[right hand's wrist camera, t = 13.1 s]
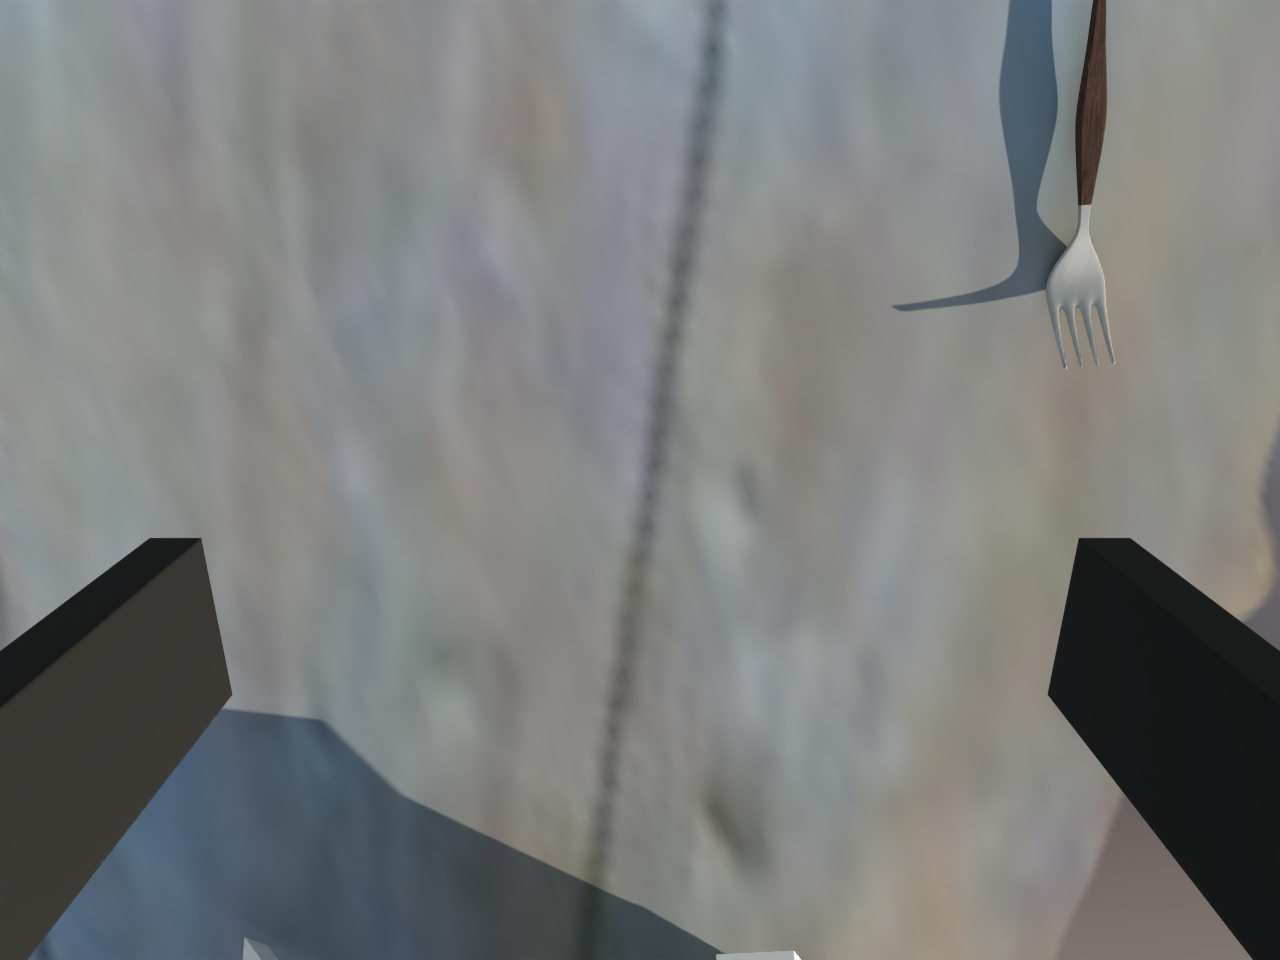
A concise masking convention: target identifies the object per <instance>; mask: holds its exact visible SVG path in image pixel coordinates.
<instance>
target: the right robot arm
mask: <svg viewBox="0 0 1280 960" xmlns="http://www.w3.org/2000/svg"><path fill="white" fill-rule="evenodd" d="M231 696H232V690H231V685H230V680H229V675H228V670H227V665H226V660H225V655H224V650H223V645H222V640H221V635H220V630H219V625H218V620H217V615H216V610H215V605H214V600H213V595H212V590H211V585H210V580H209V575H208V570H207V565H206V560H205V555H204V550H203V545H202V540H201V538H149V539H148V540H147V541H145V542H144V543H143V544H141V545H140V546H139V547H138V548H136V549H135V550H134V551H132V552H131V553H130V554H128V555H127V556H126V557H124V558H123V559H122V560H120V561H119V562H118V563H116V564H115V565H114V566H112V567H111V568H110V569H108V570H107V571H106V572H104V573H103V574H102V575H100V576H99V577H98V578H96V579H95V580H94V581H92V582H91V583H90V584H89V585H87V586H86V587H85V588H83V589H82V590H81V591H79V592H78V593H77V594H75V595H74V596H73V597H71V598H70V599H69V600H67V601H66V602H65V603H63V604H62V605H61V606H59V607H58V608H57V609H55V610H54V611H53V612H51V613H50V614H49V615H47V616H46V617H45V618H44V619H42V620H41V621H40V622H38V623H37V624H36V625H34V626H33V627H32V628H30V629H29V630H28V631H26V632H25V633H24V634H22V635H21V636H20V637H18V638H17V639H16V640H14V641H13V642H12V643H10V644H9V645H8V646H6V647H5V648H4V649H2V650H1V651H0V960H27V959H28V958H29V957H30V955H31V954H32V953H33V951H34V950H35V949H36V947H37V946H38V945H39V944H40V942H41V941H42V940H43V938H44V937H45V936H46V935H47V933H48V932H49V931H50V929H51V928H52V927H53V926H54V924H55V923H56V922H57V920H58V919H59V918H60V916H61V915H62V914H63V913H64V911H65V910H66V909H67V907H68V906H69V905H70V904H71V902H72V901H73V900H74V898H75V897H76V896H77V895H78V893H79V892H80V891H81V889H82V888H83V887H84V885H85V884H86V883H87V882H88V880H89V879H90V878H91V876H92V875H93V874H94V873H95V871H96V870H97V869H98V867H99V866H100V865H101V864H102V862H103V861H104V860H105V858H106V857H107V856H108V854H109V853H110V852H111V851H112V849H113V848H114V847H115V845H116V844H117V843H118V842H119V840H120V839H121V838H122V836H123V835H124V834H125V833H126V831H127V830H128V829H129V827H130V826H131V825H132V823H133V822H134V821H135V820H136V818H137V817H138V816H139V814H140V813H141V812H142V811H143V809H144V808H145V807H146V805H147V804H148V803H149V802H150V800H151V799H152V798H153V796H154V795H155V794H156V792H157V791H158V790H159V789H160V787H161V786H162V785H163V783H164V782H165V781H166V780H167V778H168V777H169V776H170V774H171V773H172V772H173V771H174V769H175V768H176V767H177V765H178V764H179V763H180V761H181V760H182V759H183V758H184V756H185V755H186V754H187V752H188V751H189V750H190V749H191V747H192V746H193V745H194V743H195V742H196V741H197V740H198V738H199V737H200V736H201V734H202V733H203V732H204V730H205V729H206V728H207V727H208V725H209V724H210V723H211V721H212V720H213V719H214V718H215V716H216V715H217V714H218V712H219V711H220V710H221V709H222V707H223V706H224V705H225V703H226V702H227V701H228V700H229V698H230V697H231ZM1048 696H1049V697H1050V698H1051V700H1052V701H1053V702H1054V703H1055V705H1056V706H1057V707H1058V709H1059V710H1060V711H1061V712H1062V714H1063V715H1064V716H1065V718H1066V719H1067V720H1068V721H1069V723H1070V724H1071V725H1072V727H1073V728H1074V729H1075V730H1076V732H1077V733H1078V734H1079V736H1080V737H1081V738H1082V740H1083V741H1084V742H1085V743H1086V745H1087V746H1088V747H1089V749H1090V750H1091V751H1092V752H1093V754H1094V755H1095V756H1096V758H1097V759H1098V760H1099V761H1100V763H1101V764H1102V765H1103V767H1104V768H1105V769H1106V771H1107V772H1108V773H1109V774H1110V776H1111V777H1112V778H1113V780H1114V781H1115V782H1116V783H1117V785H1118V786H1119V787H1120V789H1121V790H1122V791H1123V792H1124V794H1125V795H1126V796H1127V798H1128V799H1129V800H1130V802H1131V803H1132V804H1133V805H1134V807H1135V808H1136V809H1137V811H1138V812H1139V813H1140V814H1141V816H1142V817H1143V818H1144V820H1145V821H1146V822H1147V823H1148V825H1149V826H1150V827H1151V829H1152V830H1153V831H1154V833H1155V834H1156V835H1157V836H1158V838H1159V839H1160V840H1161V842H1162V843H1163V844H1164V845H1165V847H1166V848H1167V849H1168V851H1169V852H1170V853H1171V854H1172V856H1173V857H1174V858H1175V860H1176V861H1177V862H1178V864H1179V865H1180V866H1181V867H1182V869H1183V870H1184V871H1185V873H1186V874H1187V875H1188V876H1189V878H1190V879H1191V880H1192V882H1193V883H1194V884H1195V885H1196V887H1197V888H1198V889H1199V891H1200V892H1201V893H1202V895H1203V896H1204V897H1205V898H1206V900H1207V901H1208V902H1209V904H1210V905H1211V906H1212V907H1213V909H1214V910H1215V911H1216V913H1217V914H1218V915H1219V916H1220V918H1221V919H1222V920H1223V922H1224V923H1225V924H1226V925H1227V927H1228V928H1229V929H1230V931H1231V932H1232V933H1233V935H1234V936H1235V937H1236V938H1237V940H1238V941H1239V942H1240V944H1241V945H1242V946H1243V947H1244V949H1245V950H1246V951H1247V953H1248V954H1249V955H1250V957H1251V958H1252V959H1253V960H1280V651H1279V650H1278V649H1276V648H1275V647H1274V646H1272V645H1271V644H1270V643H1268V642H1267V641H1266V640H1264V639H1263V638H1262V637H1260V636H1259V635H1258V634H1256V633H1255V632H1254V631H1252V630H1251V629H1250V628H1248V627H1247V626H1246V625H1244V624H1243V623H1242V622H1240V621H1239V620H1238V619H1236V618H1235V617H1234V616H1233V615H1231V614H1230V613H1229V612H1227V611H1226V610H1225V609H1223V608H1222V607H1221V606H1219V605H1218V604H1217V603H1215V602H1214V601H1213V600H1211V599H1210V598H1209V597H1207V596H1206V595H1205V594H1203V593H1202V592H1201V591H1199V590H1198V589H1197V588H1195V587H1194V586H1193V585H1191V584H1190V583H1189V582H1188V581H1186V580H1185V579H1184V578H1182V577H1181V576H1180V575H1178V574H1177V573H1176V572H1174V571H1173V570H1172V569H1170V568H1169V567H1168V566H1166V565H1165V564H1164V563H1162V562H1161V561H1160V560H1158V559H1157V558H1156V557H1154V556H1153V555H1152V554H1150V553H1149V552H1148V551H1146V550H1145V549H1144V548H1142V547H1141V546H1140V545H1139V544H1137V543H1136V542H1135V541H1133V540H1132V539H1131V538H1079V540H1078V545H1077V550H1076V555H1075V560H1074V565H1073V570H1072V575H1071V580H1070V585H1069V590H1068V595H1067V600H1066V605H1065V610H1064V615H1063V620H1062V625H1061V630H1060V635H1059V640H1058V645H1057V650H1056V655H1055V660H1054V665H1053V670H1052V675H1051V680H1050V685H1049V690H1048Z"/></svg>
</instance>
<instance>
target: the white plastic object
mask: <svg viewBox="0 0 1280 960" xmlns="http://www.w3.org/2000/svg"><path fill="white" fill-rule="evenodd" d="M243 960H278V959H277V958H276V956H275V955H274V954H273V952H272V951H271V950H270V948H269V947H268V946H267V945H265V944H262V943H259V942H256V941H254V940H251V939H248V938H245V937H244V949H243ZM716 960H801V959H800V958H799V957H798V955H797V954H796V953H795V952H794V951H775V952H754V953H733V954H716Z"/></svg>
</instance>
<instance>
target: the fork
mask: <svg viewBox="0 0 1280 960" xmlns="http://www.w3.org/2000/svg"><path fill="white" fill-rule="evenodd" d="M1106 114H1107V75H1106V0H1093V5H1092V13H1091V20H1090V27H1089V35H1088V42H1087V49H1086V55H1085V61H1084V67H1083V73H1082V79H1081V85H1080V91H1079V97H1078V104H1077V113H1076V131H1075V138H1076V168H1077V189H1078V227H1077V231H1076V234H1075V236H1074V238H1073V239H1072V241H1071V243H1070V244H1069V246H1068V247H1067V248H1066V250H1065V251H1064V253H1063V254H1062V255H1061V257H1060V258H1059V259H1058V261H1057V262H1056V264H1055V265H1054V267H1053V269H1052V271H1051V273H1050V275H1049V278H1048V281H1047V286H1046V296H1047V302H1048V307H1049V312H1050V316H1051V321H1052V325H1053V330H1054V334H1055V338H1056V341H1057V345H1058V349H1059V352H1060V356H1061V360H1062V363H1063V367H1064V369H1066V368H1067V365H1066V361H1065V355H1064V349H1063V342H1062V335H1061V328H1060V321H1059V311H1060V309H1063V310H1064V311H1065V314H1066V317H1067V320H1068V325H1069V329H1070V333H1071V336H1072V340H1073V344H1074V347H1075V351H1076V355H1077V358H1078V361H1079V365H1080V367H1082V366H1083V365H1082V360H1081V354H1080V348H1079V341H1078V334H1077V328H1076V320H1075V309H1076V307H1079V308H1080V310H1081V312H1082V316H1083V319H1084V324H1085V328H1086V331H1087V335H1088V339H1089V342H1090V346H1091V350H1092V353H1093V356H1094V360H1095V363H1096V365H1097V366H1098V364H1099V362H1098V358H1097V352H1096V346H1095V340H1094V333H1093V327H1092V320H1091V307H1092V306H1093V305H1094V306H1095V307H1096V308H1097V311H1098V314H1099V318H1100V322H1101V326H1102V330H1103V334H1104V337H1105V341H1106V345H1107V348H1108V352H1109V355H1110V358H1111V362H1112V364H1114V363H1115V360H1114V356H1113V350H1112V344H1111V338H1110V332H1109V326H1108V319H1107V311H1106V296H1105V281H1104V275H1103V271H1102V267H1101V264H1100V261H1099V259H1098V257H1097V254H1096V252H1095V250H1094V248H1093V245H1092V243H1091V240H1090V236H1089V230H1088V224H1089V215H1090V208H1091V203H1092V198H1093V192H1094V187H1095V182H1096V177H1097V172H1098V167H1099V162H1100V156H1101V151H1102V145H1103V139H1104V133H1105V125H1106Z"/></svg>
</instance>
